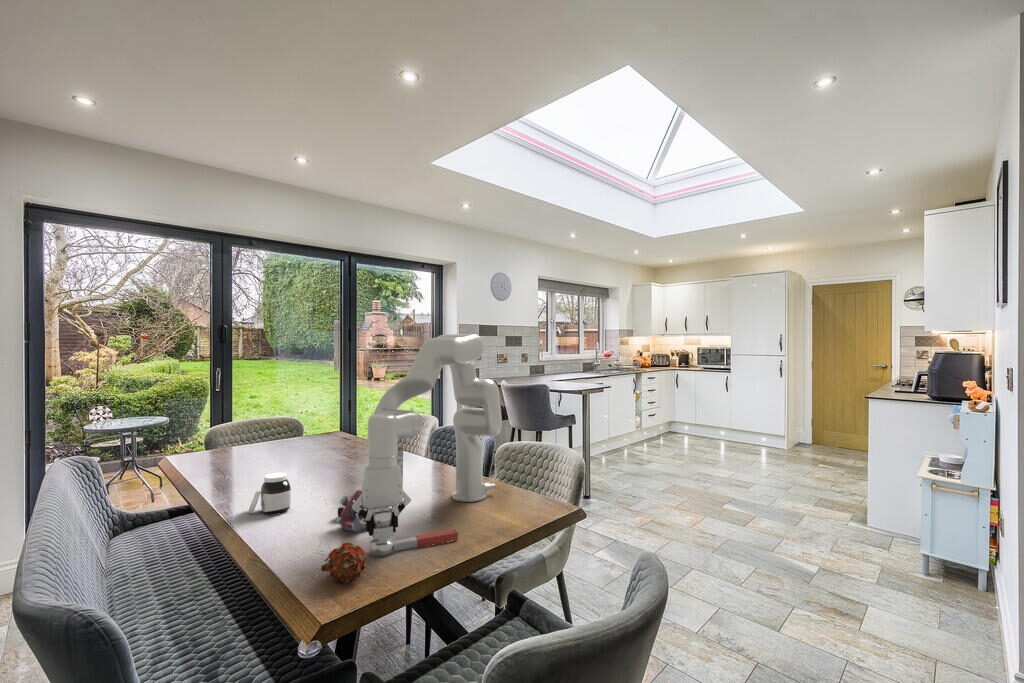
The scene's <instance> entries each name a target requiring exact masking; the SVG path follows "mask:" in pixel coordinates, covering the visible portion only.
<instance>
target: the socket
mask: <svg viewBox="0 0 1024 683" xmlns="http://www.w3.org/2000/svg"><path fill="white" fill-rule="evenodd" d="M392 516H393V510H392V507H381V508H376V509H374V510H373V513H372V520H373V535H372V536H371V537H372V538H373V539H378V538H384V537H393V536H394V532H393V525H392ZM373 539H372V540H373Z"/></svg>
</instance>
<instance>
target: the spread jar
mask: <svg viewBox="0 0 1024 683" xmlns="http://www.w3.org/2000/svg"><path fill="white" fill-rule="evenodd" d="M288 478H289V477H288V473H287V472H273V473H268V474H265V475H264V476H263V483H262V485H261V488H260V491H259V490H256V491H255V494H254V495H253V498H252V500H251V503H250V505H249V508H248V512H247V513H248V514H254V511H255V509H256V506H257V504H258V501H259V499H260V508H261V511H262V514H264V515H266V514H268V515H267V516H272V515H271V514H276V515H280V514H279V513H281V514H284V513H286V512H287V511H289V509H291V502H292V488H291V483H290V481H289V480H288ZM285 511H286V512H285ZM283 512H284V513H283Z"/></svg>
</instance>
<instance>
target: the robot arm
mask: <svg viewBox="0 0 1024 683" xmlns="http://www.w3.org/2000/svg"><path fill="white" fill-rule="evenodd" d="M484 349H485V344H484V340H483V339H482V337H481V336H479V335H477V334H474V333H473V334H471V333H470V334H469V333H467V334H463V333H462V334H459V333H458V334H457V333H456V334H455V333H453V334H449V333H448V334H440V335H438V336H437V337H433V338H432V337H431V338H428V339H426V340H424V341H423V343H422V345H421V346H420V348H419V350H418V352H417V354H416V356H415V359H414V361H413V363H412V364H411V366H410V369H409V371H408V373H407V374H406V375H405V377H403V378H402V379H400V380H399V381H397V382H396V383H395V384H394V385H392V386H391V387H390V388H388V390H386V391H385V393H384V394H383V395H382V396H381V398H380V399H379V401H378V403H377V406H376V407H375V409H374V412H373V414H372V415H370V416H369V417H368V419H367V466H366V467H364V468H363V473H362V479H361V495H360V497H359V498H358V499H357V500H356V502H355V503H354V504H353V505H352V509H353V510H354V511H356V512H357V513H359V514H360V515H361V516H363V517H364V518H365V519H366V530H365V533H368V535H369V537H373V536H372V535H373V520H372V517H371V516H372V513H373V509H374V508H381V507H388V506H389V507H391V508H392V510H393V516H392V525H393V533H396V532H397V528H398V527H399V517H400V514H401V513H402V511H403V510H405V508H406V507H407V506H408V505H409V504H410V503H411V502H412V498H411V497H410V496H409V495H408V494H407V493H406V492H405V491H404V490H403V488H404V487H403V488H402V476H401V469H400V465H399V464H398V463H399V462H400V461H403V462H404V455H403V456H400V455H398V447H399V446H398V441H399V440H402V439H403V440H404V439H412V438H415V437H417V436H418V435H419V434H420V433H421V431H422V429H423V426H424V419H423V418H422V416H421V415H420V414H419V413H418V412H416V411H413V410H406V409H399V407H400V406H402V405H403V404H404V403H405V402H407V401H409V400H410V399H413V398H415V397H417V396H421V395H424V394H426V393H428V392H431V390H433V389H434V387H435V385H436V382H437V380H438V378H439V376H440V373H441V371H442V369H443V367H444V366H449V368H450V371H451V381H452V386H453V394H454V399H455V402H456V403H457V404H458V405H460V406H467V407H461V408H459V409H457V410H456V412H454V414H453V417H452V418H453V420H452V422H453V423H452V424H453V429H454V436H455V490H454V491H452V493H451V498H452V500H454V501H456V502H460V501H461V502H463V503H473V502H480V501H482V500H485V499H486V498H487V496H488V492H487V491H488V490H491V491H492V490H495V489H497V488H496V484H495V483H490V482H486V483H485V482H483V479H484V477H483V475H484V474H483V473H484V472H483V468H484V466H483V464H484V460H483V459H484V456H483V455H484V454H483V453H484V450H483V449H484V448H483V443H482V441H481V439H480V437H479V436H482V437H496V436H498V435H499V434H500V433H501V430H502V427H503V424H502V423H503V422H502V421H503V418H502V408H501V398H500V391H499V390H500V389H499V387H498V385H497V383H496V382H495V381H494V380H491V379H488V378H478V376H477V372H476V371H477V370H476V364H475V361H478V360H479V359H480V358H481V357H482V356H483V353H484V351H485V350H484ZM480 407H481V408H480ZM361 503H363V507H364V508H366V511H365V510H364V509H363V508H361V507H360V505H361ZM389 507H388V508H389Z"/></svg>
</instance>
